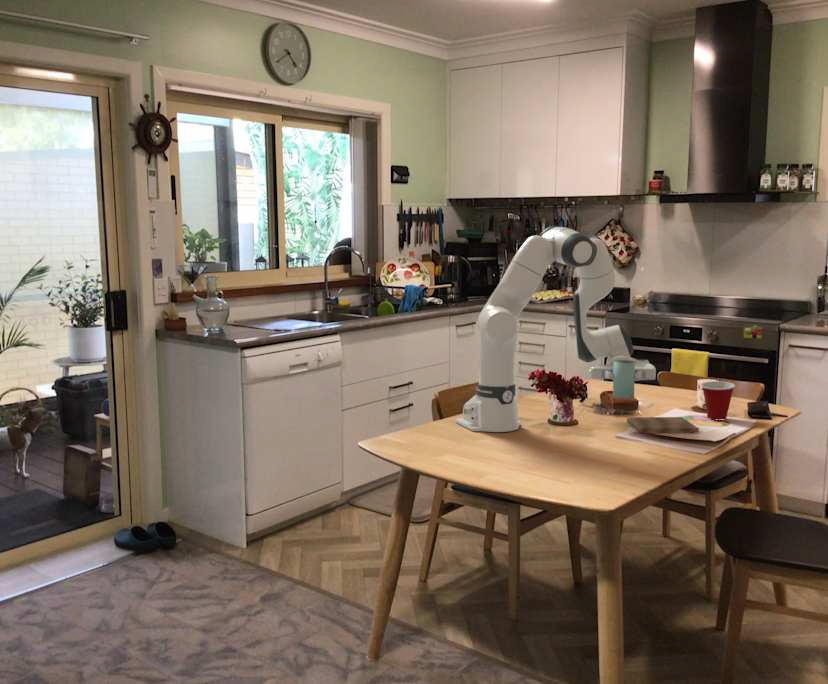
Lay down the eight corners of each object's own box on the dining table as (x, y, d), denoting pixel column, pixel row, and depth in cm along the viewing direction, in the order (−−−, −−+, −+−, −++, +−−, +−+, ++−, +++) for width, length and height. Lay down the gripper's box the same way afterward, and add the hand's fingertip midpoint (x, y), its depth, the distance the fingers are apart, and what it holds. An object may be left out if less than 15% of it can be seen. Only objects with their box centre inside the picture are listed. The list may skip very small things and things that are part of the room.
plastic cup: (693, 418, 270) (694, 383, 269) (709, 414, 278) (710, 379, 276) (723, 424, 262) (725, 387, 261) (739, 419, 269) (741, 383, 268)
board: (640, 433, 250) (640, 428, 250) (627, 421, 266) (627, 417, 266) (698, 432, 250) (698, 428, 250) (681, 421, 266) (681, 417, 266)
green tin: (608, 396, 254) (609, 361, 252) (623, 393, 257) (624, 359, 255) (623, 399, 248) (624, 363, 247) (638, 397, 251) (639, 361, 250)
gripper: (588, 359, 266) (590, 365, 252) (653, 360, 262) (658, 366, 249) (588, 378, 267) (589, 385, 253) (652, 379, 263) (657, 387, 249)
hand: (624, 376), depth 251 cm, fingers closed on green tin, 6 cm apart
